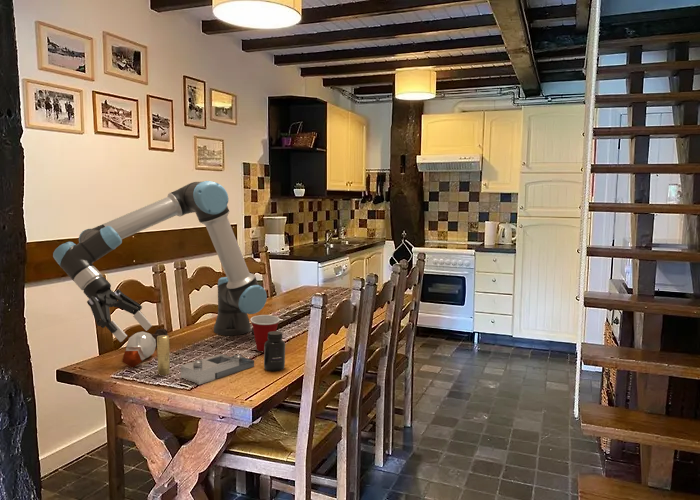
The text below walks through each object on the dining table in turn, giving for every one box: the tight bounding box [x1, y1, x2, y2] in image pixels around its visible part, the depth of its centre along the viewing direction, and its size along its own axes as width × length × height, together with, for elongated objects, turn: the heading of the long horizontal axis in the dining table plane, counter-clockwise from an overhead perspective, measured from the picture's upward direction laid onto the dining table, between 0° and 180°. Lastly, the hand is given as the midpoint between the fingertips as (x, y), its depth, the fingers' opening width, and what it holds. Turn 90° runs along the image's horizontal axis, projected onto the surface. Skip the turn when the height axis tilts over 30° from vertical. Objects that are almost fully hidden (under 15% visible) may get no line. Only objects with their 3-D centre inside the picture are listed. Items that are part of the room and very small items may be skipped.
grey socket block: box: [180, 353, 239, 386], centre depth 160 cm, size 16×9×6 cm, turn 143°
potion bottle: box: [121, 331, 156, 368], centre depth 172 cm, size 9×10×15 cm
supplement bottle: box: [263, 330, 286, 372], centre depth 167 cm, size 7×7×12 cm
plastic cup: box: [249, 314, 281, 353], centre depth 187 cm, size 11×11×12 cm
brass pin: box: [156, 335, 171, 376], centre depth 160 cm, size 4×4×12 cm
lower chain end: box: [215, 353, 255, 380], centre depth 165 cm, size 16×9×4 cm, turn 143°
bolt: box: [150, 328, 169, 349], centre depth 195 cm, size 6×5×15 cm
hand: (137, 333), depth 160 cm, fingers open, 13 cm apart
